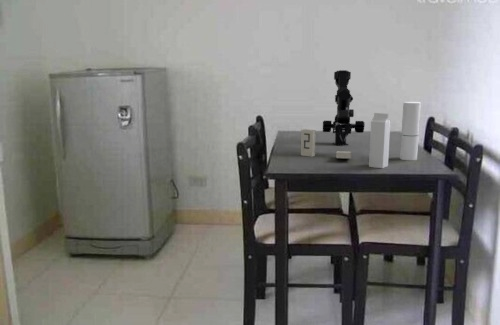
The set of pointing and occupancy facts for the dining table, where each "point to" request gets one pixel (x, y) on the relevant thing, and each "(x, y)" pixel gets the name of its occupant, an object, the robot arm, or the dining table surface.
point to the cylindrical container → (410, 130)
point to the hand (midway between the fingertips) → (343, 141)
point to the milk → (379, 141)
